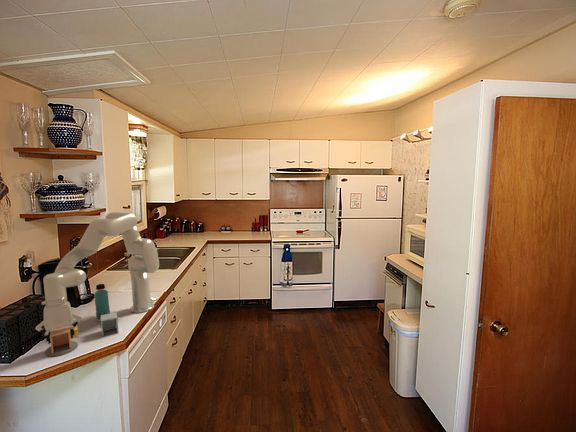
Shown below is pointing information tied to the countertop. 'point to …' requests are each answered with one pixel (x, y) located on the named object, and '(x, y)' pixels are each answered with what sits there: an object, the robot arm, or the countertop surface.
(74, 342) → the charcoal mat
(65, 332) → the rust cover
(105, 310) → the beverage bottle
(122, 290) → the countertop surface
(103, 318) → the slate cover
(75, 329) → the mustard cube
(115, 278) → the countertop surface
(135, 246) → the robot arm
